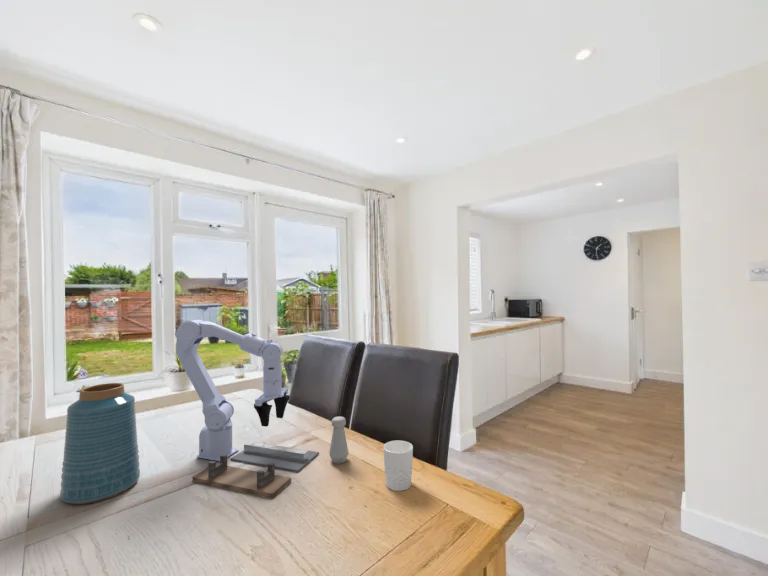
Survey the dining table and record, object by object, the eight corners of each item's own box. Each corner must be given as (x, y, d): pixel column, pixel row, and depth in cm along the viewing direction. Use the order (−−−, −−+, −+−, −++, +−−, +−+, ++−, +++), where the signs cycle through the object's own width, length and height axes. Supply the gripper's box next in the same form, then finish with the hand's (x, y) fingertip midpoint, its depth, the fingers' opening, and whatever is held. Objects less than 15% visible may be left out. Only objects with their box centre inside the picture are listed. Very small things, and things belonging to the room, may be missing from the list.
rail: (244, 452, 111) (244, 444, 111) (249, 448, 113) (249, 441, 113) (304, 462, 104) (303, 454, 104) (308, 458, 106) (308, 450, 106)
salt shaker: (345, 466, 103) (344, 421, 103) (326, 464, 104) (326, 420, 104) (350, 457, 108) (350, 415, 109) (333, 455, 110) (333, 413, 110)
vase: (48, 515, 81) (49, 399, 81) (72, 481, 95) (72, 384, 96) (134, 495, 88) (134, 390, 89) (144, 467, 103) (144, 377, 103)
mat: (230, 460, 107) (230, 458, 107) (256, 444, 118) (256, 442, 118) (298, 472, 99) (298, 470, 99) (319, 454, 111) (319, 452, 111)
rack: (192, 481, 95) (192, 462, 95) (215, 467, 103) (215, 450, 103) (272, 498, 87) (272, 478, 87) (290, 482, 94) (290, 463, 94)
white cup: (416, 479, 95) (416, 442, 95) (409, 495, 88) (408, 455, 88) (389, 474, 98) (388, 438, 98) (379, 489, 90) (379, 450, 90)
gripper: (268, 386, 106) (268, 431, 105) (295, 375, 119) (295, 415, 119) (249, 384, 108) (249, 428, 108) (278, 374, 122) (278, 413, 121)
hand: (272, 421), depth 114 cm, fingers open, 7 cm apart
